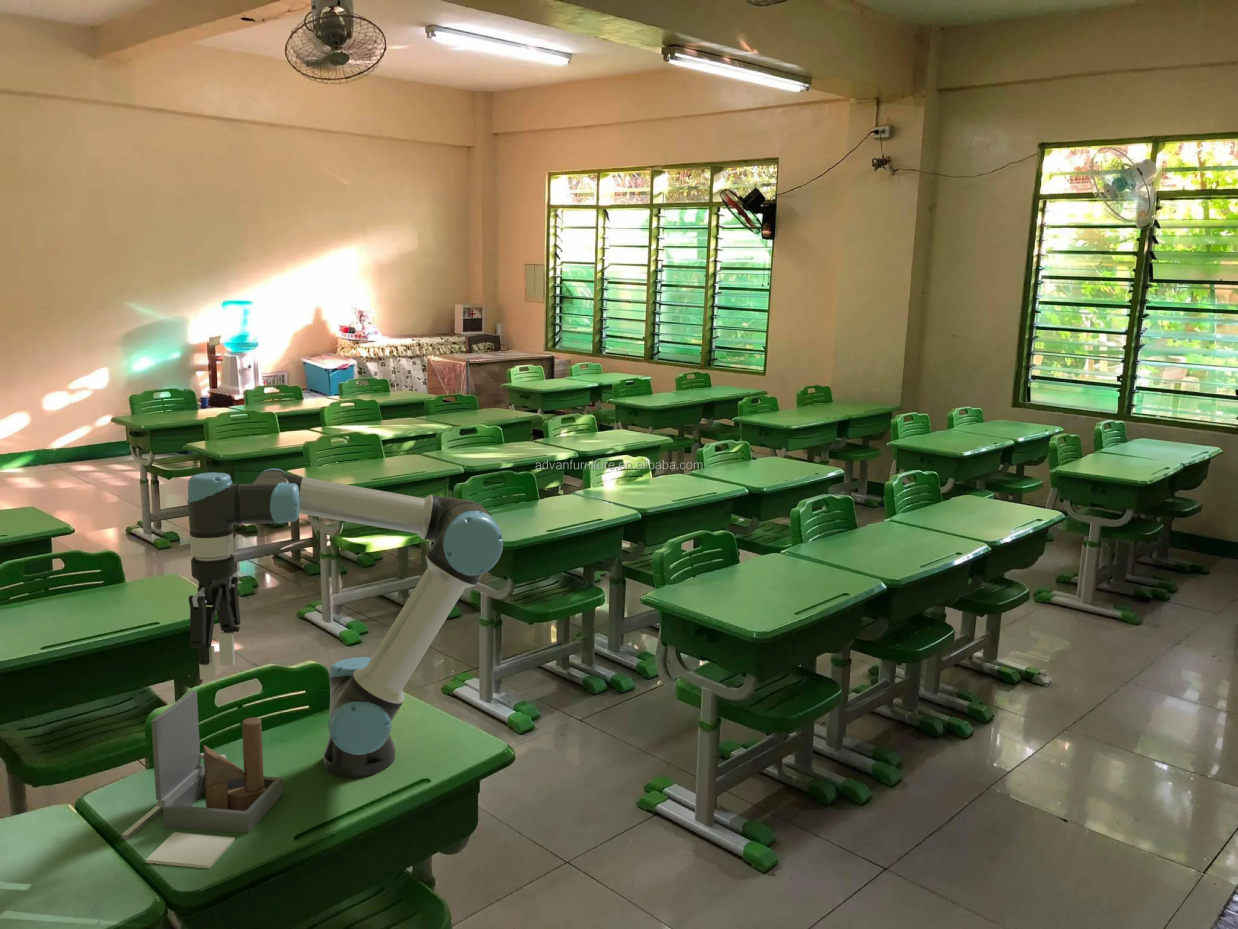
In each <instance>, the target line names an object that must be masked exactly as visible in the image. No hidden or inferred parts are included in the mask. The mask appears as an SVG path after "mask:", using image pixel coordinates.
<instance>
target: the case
mask: <svg viewBox="0 0 1238 929" xmlns="http://www.w3.org/2000/svg"><path fill="white" fill-rule="evenodd" d="M198 706H199V705H198V691H197V690H191V691H190V692H188V693H187V694H186V695H184V696H183V697H182V698H180V699H179V700H178V701H176V702H174V703H173V704H172V705H170V706H169V707H168V708H167V709H165V710H164V711H163V712H161V713H160V714H158V715H157V716H156V717H154V718H153V719H151V722H150V723H151V724H150V725H151V736H152V738H151V739H152V740H151V741H152V753H153V754H152V756H153V769H154V770H153V772H154V784H155V800H157V805H158V807H163V810H162V812H163V814H162V815H163V827H169V828H177V829H179V828H180V829H191V830H202V831H203V830H205V831H217V832H219V831H220V832H231V833H233V832H234V833H251V831H252V830H253V829H254V828H255V826H257V824H258V823H259V822H260V821H261V820H262V818H264V816H265V815H266V814H267V813H268V812H269V810H270V809H271V808H272V807H273V806H274V804H276V802H277V801H278V800H279V799H280V798H281V796H282V795H283V792H284V791H283V777H276V776H265V775H264V786H265V789H266V790H265V791H264V792H263V793H262V794H261V795H260V797H259V798H258V799H257V800H256V801H255V802H254V803H253V804H252V805H251V806H250V807H249V808H248V809H247V810H245V811H240V810H228V809H216V808H206V807H204V806H193V804H195V803H196V802H197V801H198V800H199V799H200V798H201V797H202V796H203V795H204V794H206V792H205V771H204V764H201V760H204V752H202V753H201V747H200V746H201V745H200V744H201V743H200V742H201V741H200V729H199V728H200V727H199V726H200V725H199V708H198ZM218 754H219V755H221V756H223V757H224V758H226V759H227V754H220V753H218ZM227 760H228V759H227ZM240 787H245V781H244V778H240V779H236V780H231V781H227V790H232V789H236V788H240Z"/></svg>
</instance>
